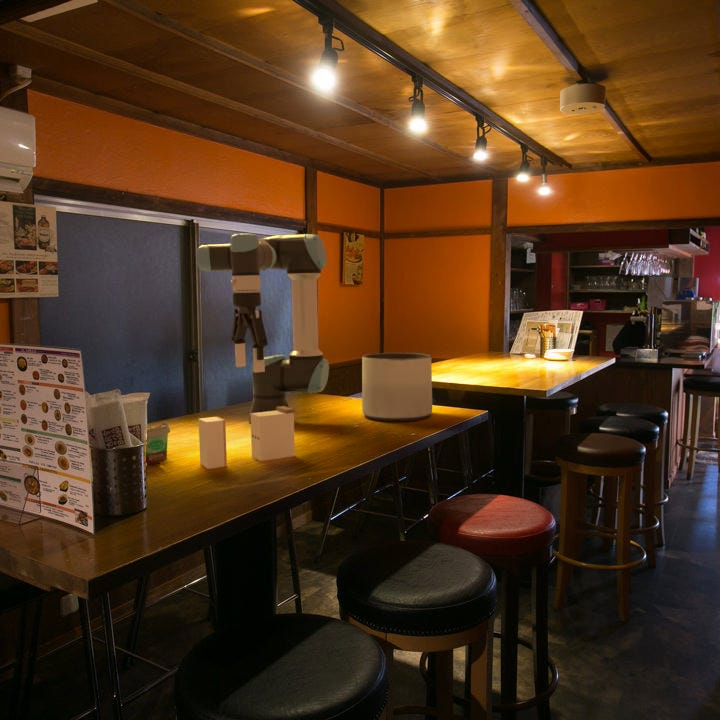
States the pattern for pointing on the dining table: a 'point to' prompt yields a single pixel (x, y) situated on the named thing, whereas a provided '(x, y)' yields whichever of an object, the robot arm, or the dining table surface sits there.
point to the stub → (212, 442)
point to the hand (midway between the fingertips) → (249, 369)
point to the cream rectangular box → (273, 434)
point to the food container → (157, 444)
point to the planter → (396, 386)
